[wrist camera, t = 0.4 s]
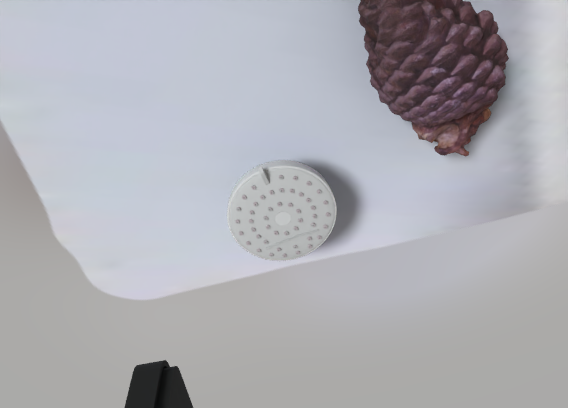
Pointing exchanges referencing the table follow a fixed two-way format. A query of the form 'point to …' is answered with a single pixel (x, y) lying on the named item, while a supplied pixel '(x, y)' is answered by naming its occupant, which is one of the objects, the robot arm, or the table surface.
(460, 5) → the pine cone
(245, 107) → the table surface
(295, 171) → the showerhead
